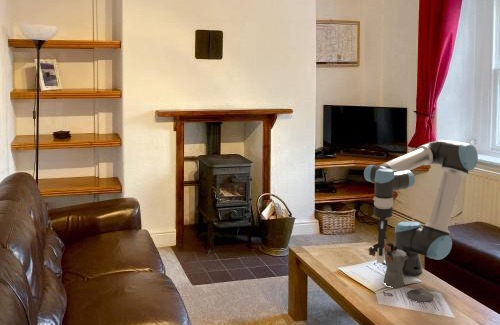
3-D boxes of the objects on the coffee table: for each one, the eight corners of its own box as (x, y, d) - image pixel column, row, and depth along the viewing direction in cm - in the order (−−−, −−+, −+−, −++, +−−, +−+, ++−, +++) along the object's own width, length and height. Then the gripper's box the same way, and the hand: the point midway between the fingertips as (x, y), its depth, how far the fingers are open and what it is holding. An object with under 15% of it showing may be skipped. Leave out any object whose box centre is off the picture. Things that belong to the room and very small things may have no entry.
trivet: (406, 290, 237) (406, 288, 237) (433, 293, 234) (433, 290, 234) (406, 300, 227) (407, 298, 226) (434, 304, 224) (434, 301, 223)
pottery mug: (386, 266, 221) (376, 248, 221) (371, 269, 229) (361, 252, 229) (404, 253, 227) (394, 235, 228) (388, 256, 235) (379, 239, 236)
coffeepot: (412, 286, 241) (414, 247, 237) (399, 292, 235) (401, 252, 232) (384, 275, 253) (386, 238, 249) (371, 280, 247) (372, 243, 244)
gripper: (375, 199, 235) (373, 248, 239) (372, 213, 214) (370, 267, 218) (393, 200, 233) (390, 250, 237) (392, 214, 212) (389, 268, 216)
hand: (380, 258), depth 228 cm, fingers closed on pottery mug, 9 cm apart
